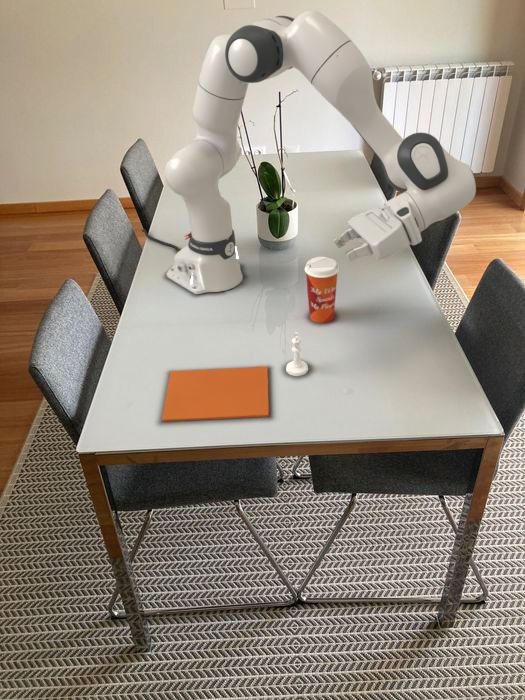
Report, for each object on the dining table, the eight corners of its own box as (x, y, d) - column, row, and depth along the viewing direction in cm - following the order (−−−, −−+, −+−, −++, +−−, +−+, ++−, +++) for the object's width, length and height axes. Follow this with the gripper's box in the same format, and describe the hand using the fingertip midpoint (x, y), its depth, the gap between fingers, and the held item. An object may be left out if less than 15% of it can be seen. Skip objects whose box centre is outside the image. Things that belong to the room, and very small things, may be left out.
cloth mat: (162, 421, 123) (161, 419, 123) (171, 373, 136) (170, 371, 136) (268, 416, 123) (268, 414, 123) (267, 368, 136) (267, 366, 135)
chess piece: (307, 361, 137) (306, 325, 131) (309, 375, 133) (308, 338, 127) (285, 363, 137) (284, 327, 131) (286, 376, 133) (285, 340, 127)
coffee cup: (311, 328, 147) (311, 274, 139) (301, 311, 154) (299, 259, 145) (343, 321, 149) (345, 268, 140) (331, 305, 155) (332, 253, 146)
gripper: (379, 194, 132) (324, 225, 133) (413, 216, 114) (348, 251, 115) (390, 219, 135) (335, 249, 136) (424, 244, 116) (360, 278, 118)
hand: (341, 250), depth 125 cm, fingers open, 8 cm apart
